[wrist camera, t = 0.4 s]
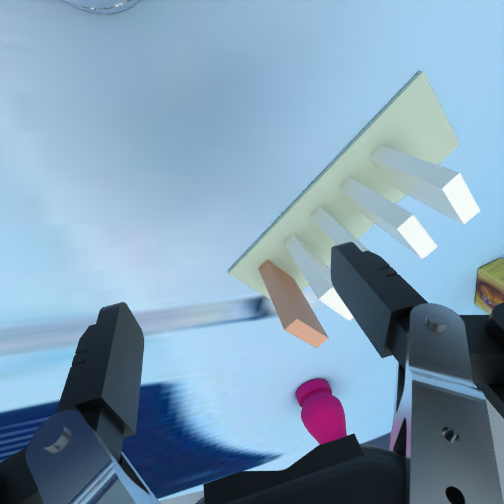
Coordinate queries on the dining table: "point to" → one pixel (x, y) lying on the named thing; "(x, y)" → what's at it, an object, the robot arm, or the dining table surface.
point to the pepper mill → (321, 411)
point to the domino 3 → (292, 305)
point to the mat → (360, 169)
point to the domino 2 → (316, 274)
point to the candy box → (490, 285)
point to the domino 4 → (389, 217)
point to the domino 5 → (426, 183)
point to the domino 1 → (334, 229)
